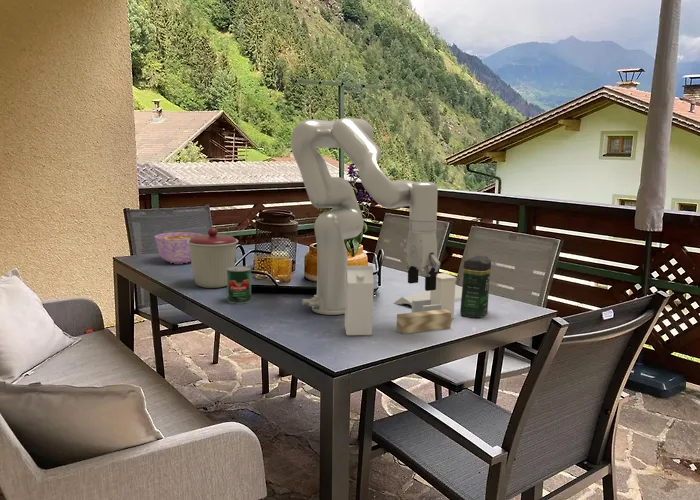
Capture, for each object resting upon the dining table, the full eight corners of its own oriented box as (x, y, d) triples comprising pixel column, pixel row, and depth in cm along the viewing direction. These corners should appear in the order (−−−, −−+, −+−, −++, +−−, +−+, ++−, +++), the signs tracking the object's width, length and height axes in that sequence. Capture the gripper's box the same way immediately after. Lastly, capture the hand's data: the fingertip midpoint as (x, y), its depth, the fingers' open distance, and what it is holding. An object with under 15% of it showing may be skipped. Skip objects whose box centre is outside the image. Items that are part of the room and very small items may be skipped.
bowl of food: (160, 257, 264) (159, 232, 262) (206, 257, 266) (206, 232, 264) (150, 267, 245) (149, 239, 243) (200, 267, 247) (199, 239, 245)
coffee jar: (482, 320, 182) (486, 260, 178) (457, 316, 185) (460, 257, 182) (490, 312, 190) (494, 255, 187) (466, 308, 194) (470, 252, 191)
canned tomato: (245, 296, 203) (244, 264, 201) (255, 301, 196) (255, 269, 194) (223, 299, 198) (222, 267, 196) (233, 305, 192) (232, 271, 190)
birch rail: (402, 334, 167) (402, 317, 166) (396, 331, 170) (397, 314, 169) (450, 328, 173) (451, 312, 172) (444, 325, 176) (444, 309, 176)
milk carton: (344, 327, 171) (346, 263, 168) (369, 327, 172) (371, 263, 168) (346, 335, 164) (348, 268, 161) (372, 335, 165) (374, 268, 161)
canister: (180, 283, 219) (178, 226, 215) (224, 277, 230) (224, 223, 226) (201, 293, 205) (199, 233, 201) (247, 286, 216) (247, 229, 212)
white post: (423, 322, 178) (425, 280, 175) (411, 316, 184) (413, 275, 182) (455, 319, 182) (457, 277, 180) (442, 312, 189) (444, 272, 186)
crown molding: (421, 313, 190) (421, 302, 189) (392, 305, 198) (393, 294, 198) (473, 298, 210) (474, 288, 209) (445, 291, 218) (446, 282, 218)
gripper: (396, 223, 172) (395, 281, 175) (427, 231, 156) (425, 294, 159) (419, 222, 175) (417, 279, 177) (451, 229, 159) (449, 292, 162)
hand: (421, 286), depth 168 cm, fingers open, 9 cm apart
